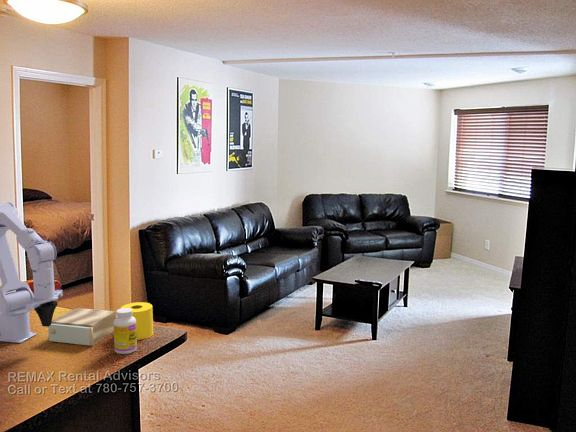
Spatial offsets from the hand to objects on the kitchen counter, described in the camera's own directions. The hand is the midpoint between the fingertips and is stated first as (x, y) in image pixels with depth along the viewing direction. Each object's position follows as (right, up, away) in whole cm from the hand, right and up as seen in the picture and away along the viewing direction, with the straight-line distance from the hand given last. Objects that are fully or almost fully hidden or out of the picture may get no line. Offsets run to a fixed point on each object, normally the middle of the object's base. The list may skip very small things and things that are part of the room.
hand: (46, 325), depth 166 cm
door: (+5, -7, +5) cm, 10 cm away
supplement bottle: (+24, -8, +1) cm, 25 cm away
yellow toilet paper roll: (+24, -6, +14) cm, 28 cm away
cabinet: (+7, -6, +13) cm, 16 cm away
